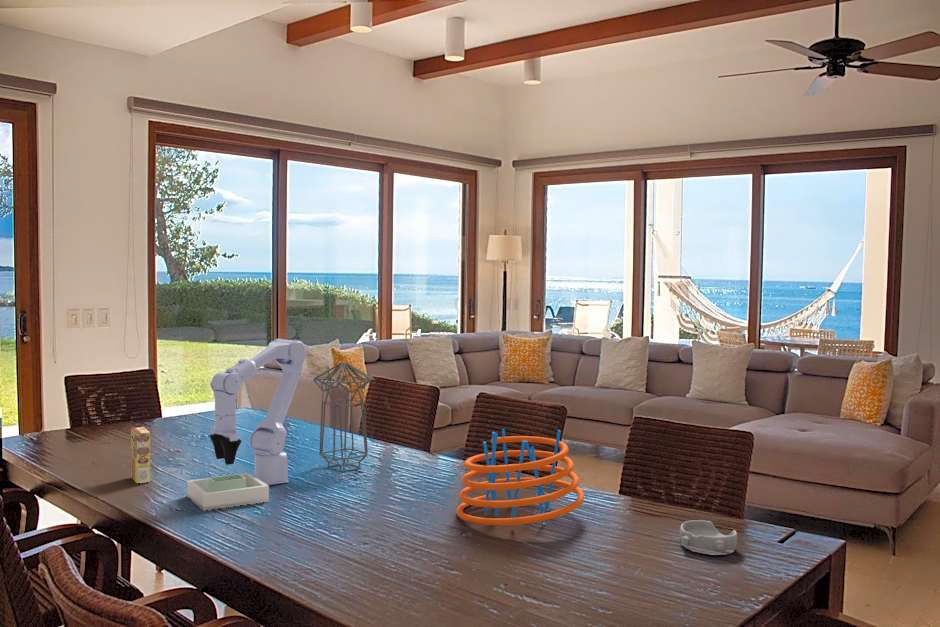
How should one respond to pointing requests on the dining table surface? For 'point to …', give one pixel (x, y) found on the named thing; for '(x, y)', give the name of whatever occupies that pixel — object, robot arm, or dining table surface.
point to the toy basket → (519, 480)
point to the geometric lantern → (345, 410)
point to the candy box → (140, 455)
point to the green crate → (226, 483)
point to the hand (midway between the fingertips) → (224, 461)
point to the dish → (706, 536)
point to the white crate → (227, 494)
